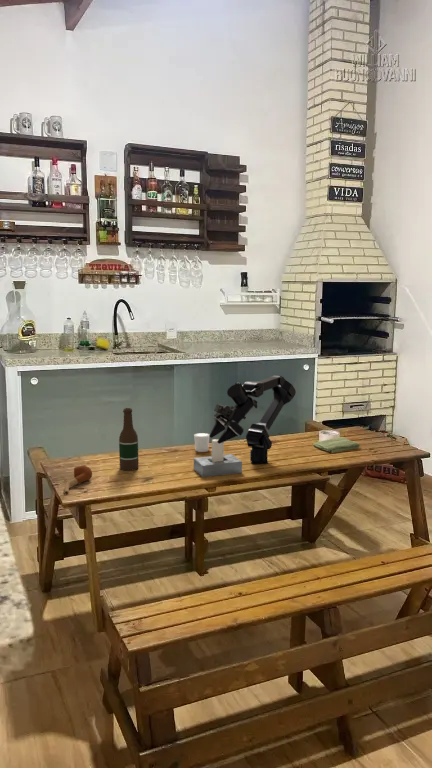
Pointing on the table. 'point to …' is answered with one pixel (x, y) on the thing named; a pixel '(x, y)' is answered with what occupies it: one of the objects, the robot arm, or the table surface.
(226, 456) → the box
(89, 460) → the table surface
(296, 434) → the table surface
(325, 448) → the washcloth
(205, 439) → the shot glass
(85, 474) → the smoking pipe
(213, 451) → the block
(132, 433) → the beer bottle
